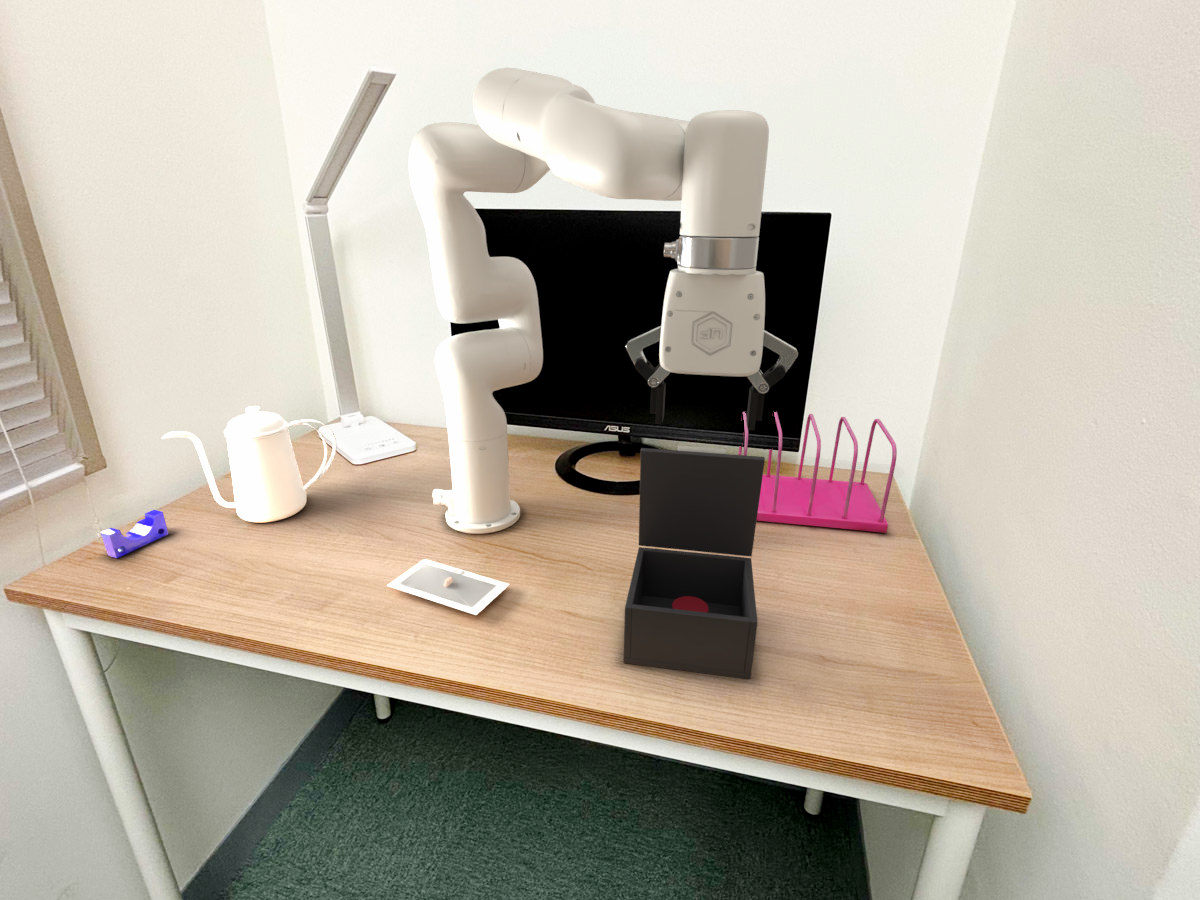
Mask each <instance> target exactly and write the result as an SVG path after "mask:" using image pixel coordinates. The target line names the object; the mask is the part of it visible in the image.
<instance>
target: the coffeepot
mask: <svg viewBox="0 0 1200 900" xmlns="http://www.w3.org/2000/svg"><path fill="white" fill-rule="evenodd" d="M309 423H317V424H319V425H323V426H324V427H326V428H327V429H328V431H329V433H330V435H331V437H332V451H331V455H330V457H329V460H328V455H329V451H328V445H327V441H326V439H325V437H324V435H323V434H322V433H321V431H319V430H318V429H317V428H316V427H314V426H313V425H311V424H309ZM297 425H298V426H299V425H300V426H306V427H309V428H312V429H314V430H315V431H316V432H317V433H318V435H319V436H320V438H321V440H322V444H323V449H324V454H323V455H324V456H323V460H322V463H321V465H320V467H319V469H318V470H317V472H316V474H315V475H314V476H313V477H312V478H311V479H309V480H308V481H307V483H306V484H303V480H302V477H301V473H300V469H299V466H298V462H297V458H296V454H295V451H294V447H293V443H292V440H291V437H290V435H291V431H290V427H294V426H297ZM223 433H224V437H225V438H226V442H227V443H226V445H227V451H228V457H229V466H230V473H231V480H232V487H233V495H234V496H233V497H234V502H228V501H225V500H224V499H223V498H222V496H221V495H220V492H219V490H218V487H217V485H216V481H215V478H214V475H213V472H212V470H211V467H210V464H209V461H208V458H207V455H206V451H205V450H204V447H203V444H202V441H201V440H200V439H199V437H198V436H197V435H195V434H194V433H192V432H189V431H184V430H181V431H180V430H177V431H170V432H167V433H166V434H164V435H163V436H162V437H161V440H164V439H171V438H172V439H173V438H187V439H189V440H191V441H192V442H193V444H194V447H195V449H196V451H197V454H198V456H199V457H198V458H199V460H200V462H201V465H202V468H203V472H204V474H205V478H206V480H207V482H208V486H209V488H210V491H211V494H212V496H213V499H214V500H215V501H216V503H218V505H220V506H222V507H223V508H226V509H235V510H236V514H237V516H238V517H239V518H240V519H242V520H243V521H247V522H250V523H271V522H276V521H281V520H285V519H287V518H289V517H292V516H294V515H296V514H297V513H299V512H300V511H302V510H303V509H304V507H305V506H306V504H307V496H308V494H307V489H308V488H309V487H311V486H312V485H314V484H315V483H317V482H318V481H319V480H320V479H321V478H322V477H323V476H324V475H325V474H326V473H327V471H328V470H329V469H330V467H331V466H332V464H333V462H334V460H335V457H336V454H337V453H336V452H337V439H336V435H335V433H334V431H332V429H331V428H330V427H329V426H328V425H327V424H325V423H323V422H321V421H319V420H316V419H310V418H309V419H298V420H294V421H290V422H288V421H286V419H284V418H283V417H282V416H281V414H278V413H276V412H271V411H261V407H260V406H259V405H253V406H247V407H246V408H245V413H244V414H241V415H238V416H236V417H233V418H232V419H230V421H228V423H227V426H226V428H225V429H224V431H223Z"/></svg>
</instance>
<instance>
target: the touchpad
mask: <svg viewBox="0 0 1200 900" xmlns="http://www.w3.org/2000/svg"><path fill="white" fill-rule="evenodd" d="M510 585H511V584H510V583H508V582H504V581H501V580H498V579H494V578H491V577H488V576H484V575H481V574H478V573H474V572H470V571H468V570H463V569H461V568H458V567H454V566H451V565H447V564H444V563H441V562H439V561H438V562H437V561H434V560H431V559H427V558H423V559H422V560H420V561H418V562H417V563H416V564H414V565H413V566H412V567H410V568H409V569H408V570H406V571H405V572H403V573H401V574H400V575H399V576H397V577H396V578H395V579H393V580H392V581H391V582H389V583H388V584H386V587H388V588H392V589H395V590H398V591H400V592H404V593H407V594H410V595H413V596H416V597H419V598H422V599H425V600H429V601H431V602H434V603H437V604H439V605H443V606H447V607H449V608H452V609H455V610H458V611H460V612H461V611H462V612H464V613H467V614H471V615H474V616H477V615H478V614H480V613H481V612H483V610H484V609H485V608H486V607H487V606H488V605H489V604H491V603H492V602H493V601H494V600H495V599H496V598H497V597H498V596H499V595H501V594H502V593H503V592H504V591H505V590H506V589H507V588H508V587H509V586H510Z"/></svg>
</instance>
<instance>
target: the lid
mask: <svg viewBox="0 0 1200 900" xmlns="http://www.w3.org/2000/svg"><path fill="white" fill-rule="evenodd" d="M639 459H640V461H639V462H640V463H639V469H640V470H639V504H638V505H639V509H638V510H639V511H638V520H639V521H638V546H639V547H648V548H658V549H668V550H678V551H688V552H699V553H709V554H719V555H729V556H739V557H752V556H753V549H754V543H755V536H756V535H755V534H756V527H757V522H758V521H757V513H758V506H759V499H760V491H761V484H762V477H763V474H764V470H765V469H764V468H765V461H766V460H765V459H766V457H765V456H757V455H747V456H745V455H744V454H741V455H738V454H729V453H727V448H718V447H708V446H707V447H705V446H692V445H689V446H688V445H678V446H677V450H676V449H675V450H674V449H661V448H649V447H647V448H646V447H641V448H640V457H639Z"/></svg>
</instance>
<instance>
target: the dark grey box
mask: <svg viewBox="0 0 1200 900" xmlns="http://www.w3.org/2000/svg"><path fill="white" fill-rule="evenodd" d="M636 553H637V554H636V557H635V563H634V566H633V570H632V575H631V579H630V584H629V588H628V592H627V596H626V602H625V605H624V625H623V628H624V629H623V655H622V656H623V658H622V660H623V664H628V665H636V666H644V667H651V668H652V667H654V668H660V669H667V670H676V671H684V672H692V673H699V674H706V675H715V676H722V677H731V678H736V679H737V678H739V679H745V680H751V678H752V671H753V661H754V654H755V648H756V647H755V646H756V638H757V637H756V636H757V630H758V614H757V613H758V612H757V603H756V593H755V592H756V591H755V584H754V583H755V582H754V573H753V563H752V558H751V557H746V556H736V555H726V554H716V553H706V552H696V551H685V550H675V549H665V548H655V547H644V546H639V547H638V549H637V552H636ZM683 596H692V597H697V598H699V599H701V600H703V601H704V602H705V603H706V604H707V605H708V608H709V610H708V613H706V612H697V611H688V610H679V609H672V603H673V602H674V600H676V599H677V598H679V597H683Z"/></svg>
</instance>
